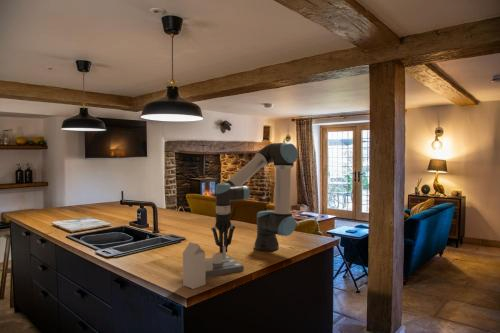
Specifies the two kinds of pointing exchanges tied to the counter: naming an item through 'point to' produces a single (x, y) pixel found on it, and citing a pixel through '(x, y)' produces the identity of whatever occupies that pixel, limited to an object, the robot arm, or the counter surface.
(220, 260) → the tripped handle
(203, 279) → the milk carton
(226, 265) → the breaker panel
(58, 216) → the counter surface
